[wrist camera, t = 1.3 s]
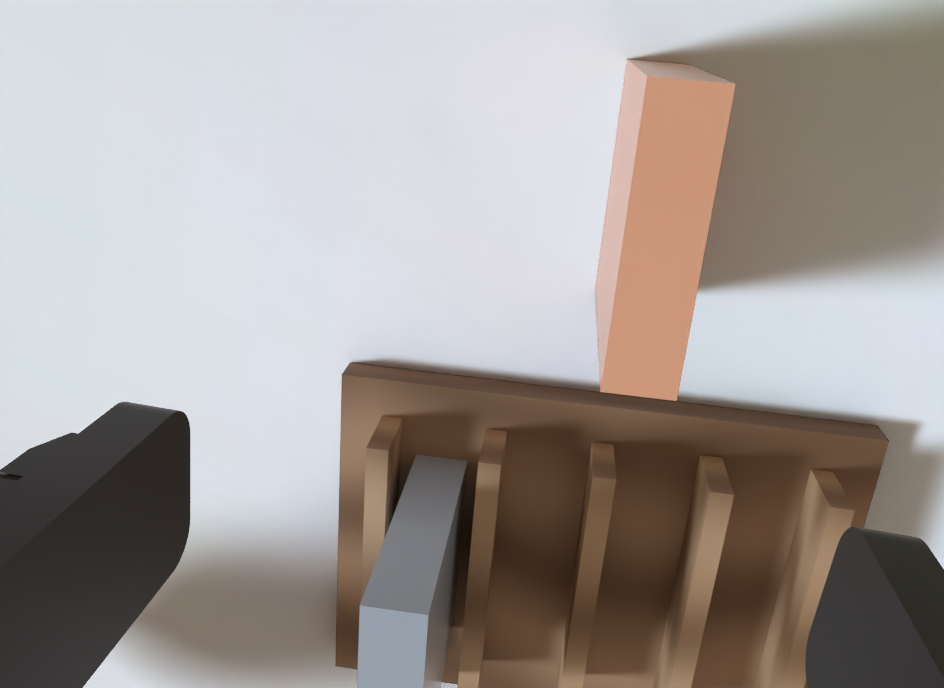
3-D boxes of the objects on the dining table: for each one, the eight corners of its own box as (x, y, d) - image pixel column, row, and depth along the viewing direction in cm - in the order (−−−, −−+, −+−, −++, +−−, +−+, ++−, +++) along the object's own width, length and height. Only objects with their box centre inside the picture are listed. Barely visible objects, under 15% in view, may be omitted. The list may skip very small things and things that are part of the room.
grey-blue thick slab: (416, 454, 32) (359, 605, 24) (467, 461, 32) (428, 615, 24) (406, 620, 35) (352, 806, 27) (452, 627, 35) (414, 816, 27)
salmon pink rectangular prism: (626, 58, 27) (646, 76, 19) (688, 64, 27) (735, 83, 19) (594, 290, 30) (600, 392, 22) (649, 296, 30) (676, 401, 22)
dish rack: (350, 362, 33) (322, 404, 29) (878, 426, 31) (916, 477, 27) (342, 647, 38) (318, 711, 34) (794, 713, 36) (818, 789, 33)
